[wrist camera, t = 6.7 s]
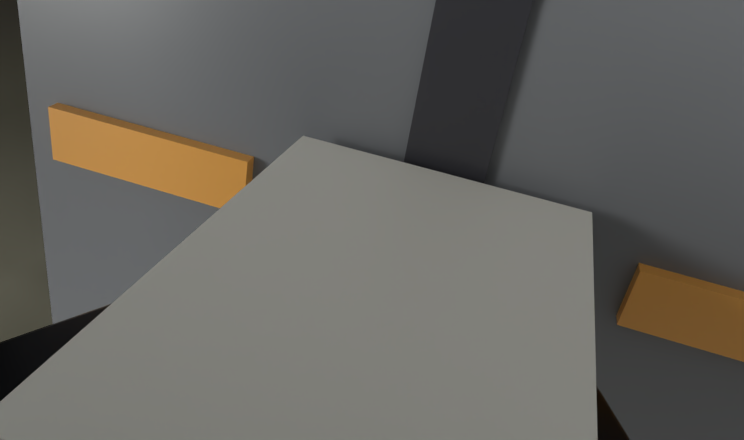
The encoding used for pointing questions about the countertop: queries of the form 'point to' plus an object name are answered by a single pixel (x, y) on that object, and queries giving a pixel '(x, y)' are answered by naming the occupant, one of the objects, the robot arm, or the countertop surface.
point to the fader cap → (341, 318)
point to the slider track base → (421, 147)
